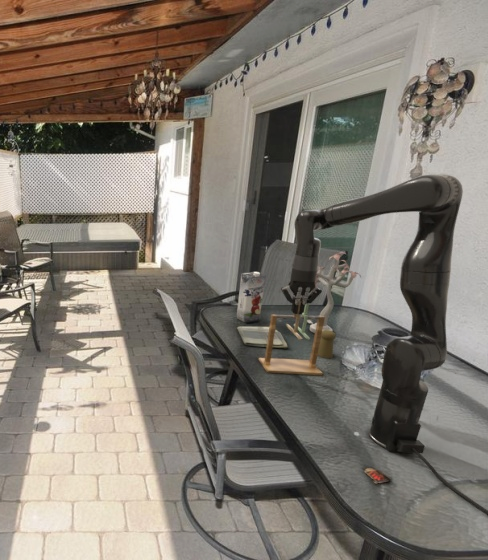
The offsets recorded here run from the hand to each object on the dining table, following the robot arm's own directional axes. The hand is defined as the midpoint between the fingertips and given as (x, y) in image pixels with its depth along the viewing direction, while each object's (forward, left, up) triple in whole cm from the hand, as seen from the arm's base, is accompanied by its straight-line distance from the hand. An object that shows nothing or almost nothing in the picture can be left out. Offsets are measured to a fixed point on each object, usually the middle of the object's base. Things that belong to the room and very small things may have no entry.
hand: (297, 313), depth 128 cm
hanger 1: (0, 0, -1) cm, 1 cm away
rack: (+8, -4, -27) cm, 28 cm away
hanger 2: (+8, -6, -5) cm, 11 cm away
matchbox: (-46, -3, -27) cm, 54 cm away
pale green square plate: (+33, -2, -27) cm, 42 cm away
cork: (+20, -23, -27) cm, 40 cm away
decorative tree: (+46, -33, -27) cm, 62 cm away
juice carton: (+56, -3, -27) cm, 62 cm away
